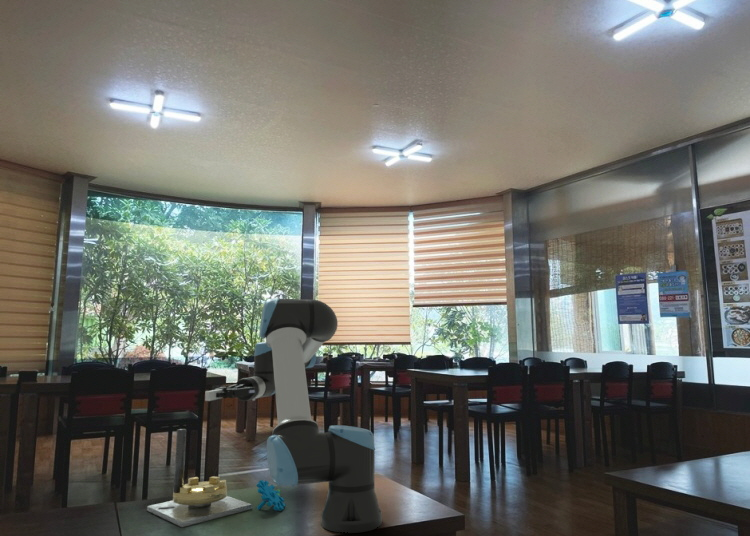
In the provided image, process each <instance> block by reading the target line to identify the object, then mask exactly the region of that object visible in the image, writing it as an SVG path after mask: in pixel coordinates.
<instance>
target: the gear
mask: <svg viewBox="0 0 750 536" xmlns="http://www.w3.org/2000/svg"><path fill="white" fill-rule="evenodd" d="M269 484H270V482H269V481H268V480H263V479H260V480H259V481H258V483H256V487H257V493H258V494H261V496H260V497H261V500H262V501H261V502H260V503H259V504H258V505H257V506H256V508H257V510H258V511H259V510H261V509H262V508H263V507H264V506H265V505H267V506H268V507H269V508H271V507H272V506H273V508H272V509H273V510H274V511H275V512H277V511H279V512H282V511H283V510H284V507H285V506H286V504H285V499H284V497H282V496H280V495H281V492H282V491H281V490H280V489H279V488H277V490H275V487H276V486H275V485H274V484H271V485H269Z"/></svg>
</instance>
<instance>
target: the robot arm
mask: <svg viewBox="0 0 750 536" xmlns="http://www.w3.org/2000/svg"><path fill="white" fill-rule="evenodd" d="M337 330H338V317H337V315H336V313H335V311H334V310H333V309H332V308H331V306H329V305H328V304H326V303H325V302H323V301H321V300H318V299H305V298H304V299H303V298H302V299H300V298H298V299H297V298H296V299H295V298H281V297H278V298H268V299H266V300H265V301H264V303H263V306H262V312H261V317H260V324H259V337H260V338H262V339H265V341H264V342H256V344H255V347H254V355H253V357H254V358H253V360H254V361H253V376H250V377H243V378H240V379H239V380H237V382H236V383H234V384H232V385H228V386H227V387H226V386H224V385H223V386H222V385H221V386H220V387H217V388H213V389H212V390H206V391H205V394H204V401H205V402H211V401H220V400H221V399H227V398H229V399H233V398H237V399H238V400H239V401H242V402H247V401H253V402H254V401H256V399H260V398H265V397H271V396H273V395H275V404H276V415H277V418H276V419H277V424H276V426H275V427H274V428H273V430H272V435H270V436H269V437H267V440H266V453H267V454H266V460H267V465H268V471H269V475H270V477H271V479H272V481H273V483H275V484H276V485H278V486H283V487H284V486H292V487H296V486H299V485H307V484H308V485H309V484H315V483H316V484H317V483H318V484H319V483H328V491H327V495H326V500H325V503H324V507H323V510H322V512H321V515H320V516H321V517H320V518H321V519H320V520H321V521H320V523H321V527H322V528H324V529H325V530H328V531H330V532H334V533H340V532H342V534H356V533H357V534H358V533H359V534H360V533H365V532H370V531H373V530H376V529H377V527H378V528H380V526H381V525H382V522H383V521H382V520H383V518H382V517H383V516H382V510H381V509H380V505H379V501H378V498H377V494H376V491H375V486H376V485H375V452H376V448H375V438H374V433H373V432H372V431H371V430H369V429H366V428H362V427H357V426H351V425H350V426H348V425H340V424H336V425H335V424H334V425H329V427H328V429H327V432H320V430H319V429H320V428H319V423H318V422H316V421H315V420H313V419H312V416H311V415H312V414H311V413H312V412H311V407H310V397H309V390H308V382H307V375H306V374H307V373H306V369H310V368H313V367H314V366H315V365H316V362H317V361H316V360H317V352H318V351H319V349H320V348H321V347H322V345H323V344H324V343H325V342H328V341H330V340H331V339H332V337H333V336H335V334H336V332H337ZM343 532H345V533H343ZM347 532H348V533H347Z"/></svg>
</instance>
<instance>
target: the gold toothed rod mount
mask: <svg viewBox="0 0 750 536" xmlns="http://www.w3.org/2000/svg"><path fill="white" fill-rule="evenodd" d="M175 442H176V443H175V458H174V459H175V460H174V461H175V462H174V474H173V475H174V476H173V477H174V478H173V490H172V492H173V493H172V501H173V502H175V503H177V504H182V505H200V504H208V503H213V502H217V501H220V500H222V499H224V498H225V497H226V496H228V485H227V479H221V477H220V476H215V475H214V476H210V477H209V478H208V479H209V480H208V481H200V480H199V477H198V476H195V477H194V476H193V477H188V480H187V483H185V481H184V480H185V463H186V447H187V446H186V445H187V443H186V442H187V428H179V429H176V441H175ZM184 483H185V484H184Z"/></svg>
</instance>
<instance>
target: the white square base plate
mask: <svg viewBox="0 0 750 536" xmlns="http://www.w3.org/2000/svg"><path fill="white" fill-rule="evenodd" d="M251 509H253V504H251V503H249V502H246V501H242V500H241V499H237V498H234V497H231V496H228V495H227V496H226V497H225V498H224V499H222V500H220V501H217V502H213V503H208V504H200V505H182V504H177V503H175V502H173V500H169V501H165V502H160V503H156V504H155V503H154V504H151V505H150V504H149V505H147V506H146V511H147V512H149V513H151V514H153V515H155V516H156V517H159V518H161V519H163V520H165V521H168V522H170V523H172V524H174V525H176V526H177V527H181V528H184V527H189V526H192V525H196V524H201V523H204V522H207V521H211V520H214V519H215V520H216V519H219V518H222V517H227V516H230V515H233V514H238V513H242V512H245V511H248V510H251Z"/></svg>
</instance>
